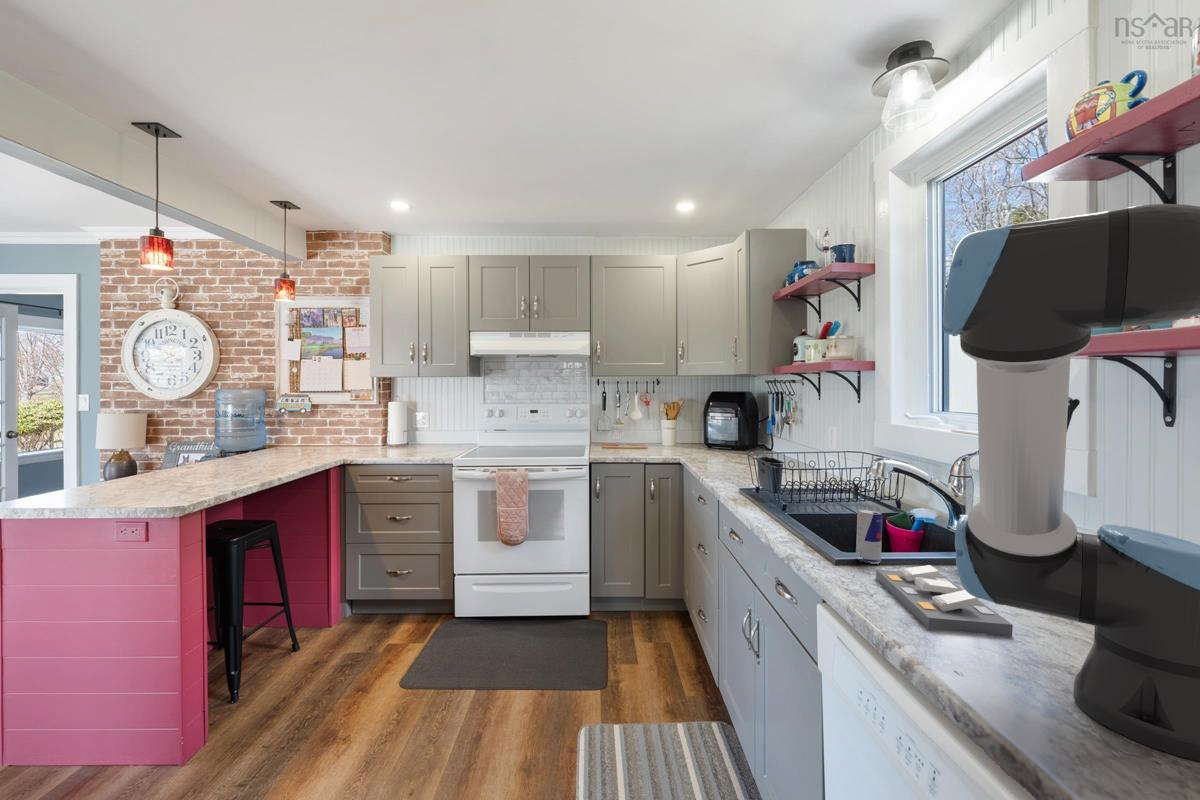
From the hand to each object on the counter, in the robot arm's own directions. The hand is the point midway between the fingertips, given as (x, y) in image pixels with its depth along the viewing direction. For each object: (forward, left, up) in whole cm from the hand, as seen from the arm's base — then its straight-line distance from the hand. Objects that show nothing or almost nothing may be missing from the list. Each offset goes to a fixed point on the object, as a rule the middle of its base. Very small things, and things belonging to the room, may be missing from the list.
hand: (1032, 489), depth 94 cm
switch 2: (+4, +14, -20) cm, 24 cm away
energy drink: (+28, +18, -24) cm, 40 cm away
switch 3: (-3, +14, -20) cm, 25 cm away
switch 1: (+11, +14, -20) cm, 26 cm away
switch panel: (+4, +14, -24) cm, 27 cm away
